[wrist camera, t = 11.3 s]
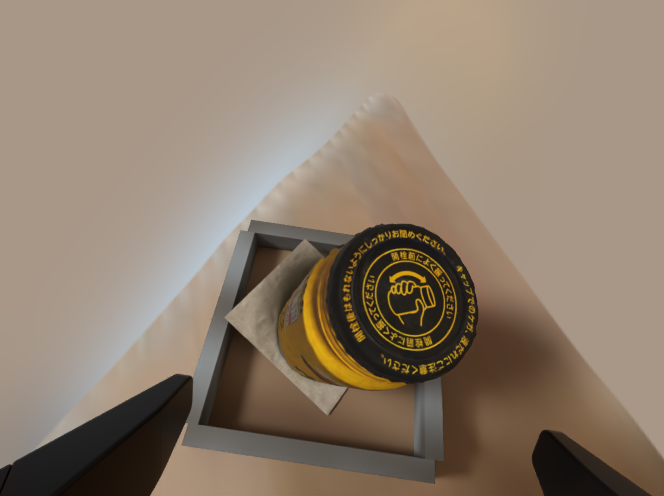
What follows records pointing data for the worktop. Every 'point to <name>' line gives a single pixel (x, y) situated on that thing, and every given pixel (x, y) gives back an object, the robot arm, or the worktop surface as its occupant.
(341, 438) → the grey square frame
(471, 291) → the condiment
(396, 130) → the worktop surface
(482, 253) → the worktop surface
